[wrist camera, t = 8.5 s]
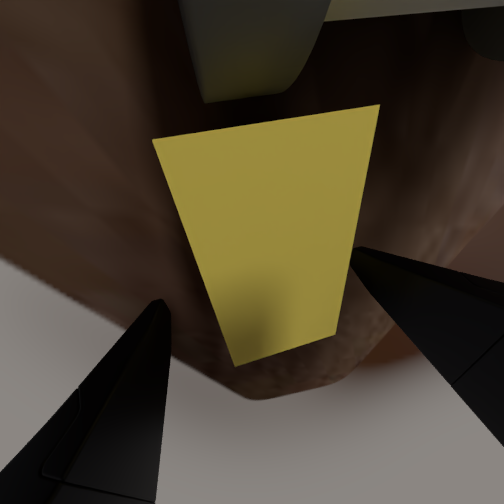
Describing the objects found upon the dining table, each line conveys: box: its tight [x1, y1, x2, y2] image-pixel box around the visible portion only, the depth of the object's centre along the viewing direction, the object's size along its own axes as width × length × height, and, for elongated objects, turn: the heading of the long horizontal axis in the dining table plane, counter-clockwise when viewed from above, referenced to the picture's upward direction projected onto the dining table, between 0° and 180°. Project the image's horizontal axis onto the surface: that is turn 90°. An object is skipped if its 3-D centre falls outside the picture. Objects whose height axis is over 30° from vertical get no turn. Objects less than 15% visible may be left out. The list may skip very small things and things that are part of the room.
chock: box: [152, 105, 380, 367], centre depth 8 cm, size 4×8×5 cm, turn 8°
